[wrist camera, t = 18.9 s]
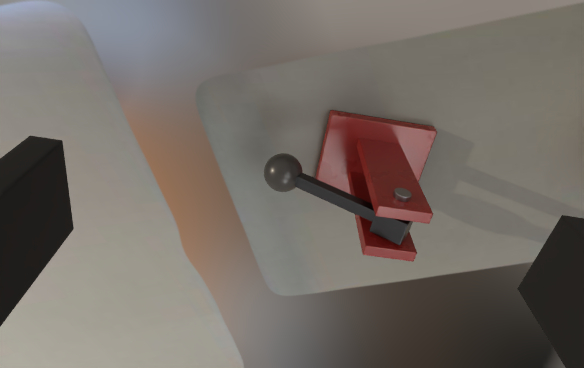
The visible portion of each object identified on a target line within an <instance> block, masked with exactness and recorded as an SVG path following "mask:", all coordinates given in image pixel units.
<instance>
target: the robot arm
mask: <svg viewBox="0 0 584 368" xmlns="http://www.w3.org/2000/svg"><path fill="white" fill-rule="evenodd" d="M72 230H73V221H72V213H71V205H70V197H69V190H68V182H67V174H66V166H65V158H64V151H63V143H62V140H55V139H48V138H42V137H35V136H29V137H28V138H27V139H25V140H24V141H23V142H21V143H20V144H19V145H18V146H16V147H15V148H14V149H12V150H11V151H10V152H8V153H7V154H6V155H5V156H3V157H2V158H1V159H0V326H1V325H2V323H3V322H4V321H5V319H6V318H7V317H8V315H9V314H10V313H11V311H12V310H13V309H14V307H15V306H16V305H17V304H18V302H19V301H20V300H21V298H22V297H23V296H24V294H25V293H26V292H27V290H28V289H29V288H30V286H31V285H32V284H33V282H34V281H35V280H36V278H37V277H38V276H39V274H40V273H41V272H42V270H43V269H44V268H45V266H46V265H47V264H48V262H49V261H50V260H51V258H52V257H53V256H54V254H55V253H56V252H57V250H58V249H59V248H60V246H61V245H62V244H63V242H64V241H65V240H66V238H67V237H68V236H69V234H70V233H71V232H72ZM518 290H519V292H520V293H521V295H522V297H523V298H524V300H525V302H526V303H527V305H528V307H529V308H530V310H531V311H532V313H533V315H534V316H535V318H536V320H537V321H538V323H539V324H540V326H541V328H542V330H543V331H544V333H545V334H546V336H547V337H548V339H549V341H550V342H551V344H552V346H553V347H554V349H555V351H556V352H557V354H558V356H559V357H560V359H561V361H562V362H563V364H564V365H565V367H566V368H584V219H583V218H577V217H570V216H563V215H562V216H561V218H560V220H559V221H558V223H557V224H556V226H555V228H554V229H553V231H552V233H551V234H550V236H549V238H548V239H547V241H546V243H545V244H544V246H543V248H542V249H541V251H540V252H539V254H538V256H537V257H536V259H535V261H534V262H533V264H532V266H531V267H530V269H529V271H528V272H527V274H526V276H525V277H524V279H523V281H522V282H521V284H520V285H519V287H518Z"/></svg>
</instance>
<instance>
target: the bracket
mask: <svg viewBox="0 0 584 368" xmlns="http://www.w3.org/2000/svg"><path fill="white" fill-rule="evenodd" d="M436 133H437V131H436V129H435V128H434V127H433V126H426V125H420V124H414V123H408V122H402V121H396V120H389V119H383V118H377V117H371V116H365V115H359V114H352V113H346V112H340V111H334V110H331V111H330V115H329V119H328V124H327V128H326V132H325V137H324V141H323V146H322V150H321V155H320V159H319V164H318V168H317V173H316V177H315V179H317V180H320V181H322V182H324V183H326V184H329V185H331V186H333V187H336V188H338V189H340V190H342V191H345V192H347V193H349V194H351V195H354V196H356V197H358V198H360V199H363V200H365V201H367V202H370V203H372V205H373V208H374V212H375V216H379V217H386V218H393V219H400V220H407V221H414V222H421V223H428V224H429V223H430V220H431V218H432V215H433V213H432V211H431V208H430V206H429V204H428V202H427V200H426V198H425V196H424V194H423V192H422V189H421V187H420V185H419V183H418V182H419V179H420V176H421V173H422V171H423V168H424V165H425V163H426V160H427V157H428V155H429V152H430V149H431V147H432V144H433V141H434V139H435V136H436ZM355 218H356V223H357V228H358V233H359V238H360V243H361V248H362V253H363V255H369V256H377V257H384V258H391V259H399V260H406V261H414V259H415V256H416V254H417V252H416V249H415V246H414V243H413V241H412V238H411V235H410V233H409V232H408V234H407V236H406V237H405V239H404V240H403V242H402V243H401V245H398V244H395V243H393V242H391V241H389V240H387V239H385V238H383V237H380V236H378V235H376V234H374V233H372V232H370V227H371V224H372V221H369V220H367V219H365V218H363V217H361V216H358V215H356V214H355Z"/></svg>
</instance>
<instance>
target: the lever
mask: <svg viewBox="0 0 584 368" xmlns="http://www.w3.org/2000/svg"><path fill="white" fill-rule="evenodd" d="M264 177H265V180H266V182H267V184H268V185H269V186H270V187H271V188H272V189H274V190H276V191H279V192H287V191H290V190H292V189H294V188H295V187H297V188H300V189H302V190H304V191H306V192H308V193H310V194H313V195H315V196H317V197H319V198H321V199H324V200H326V201H328V202H330V203H332V204H334V205H337V206H339V207H341V208H343V209H345V210H348V211H350V212H352V213H354V214H356V215H358V216H361V217H363V218H365V219H367V220H369V221H372V224H371V227H370V232H372V233H374V234H376V235H378V236H380V237H383V238H385V239H387V240H389V241H391V242H393V243H395V244H398V245H401V243H402V242H403V240H404V239H405V237H406V236H407V234H408V232H409V230H410V227H411V225H412V222H413V221H407V220H400V219H393V218H386V217H379V216H375V212H374V208H373V205H372V203H370V202H367V201H365V200H363V199H360V198H358V197H356V196H354V195H351V194H349V193H347V192H345V191H342V190H340V189H338V188H336V187H333V186H331V185H329V184H326V183H324V182H322V181H320V180H317V179H315V178H313V177H311V176H308V175H306V174H304V173H302V167H301V164H300V163H299V161H298V160H297V159H296V158H295V157H293V156H292V155H289V154H277V155H275V156H273V157H272V158H270V159H269V160H268V162H267V163H266V165H265V169H264Z"/></svg>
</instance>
